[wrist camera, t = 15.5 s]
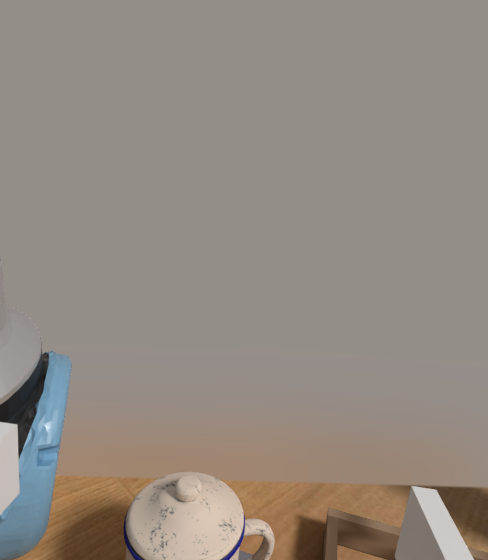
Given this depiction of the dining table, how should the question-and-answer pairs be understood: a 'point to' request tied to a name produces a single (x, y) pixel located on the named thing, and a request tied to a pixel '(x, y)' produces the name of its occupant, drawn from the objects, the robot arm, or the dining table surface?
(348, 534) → the walnut box
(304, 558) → the dining table surface
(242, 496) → the dining table surface
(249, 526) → the teacup with lid
